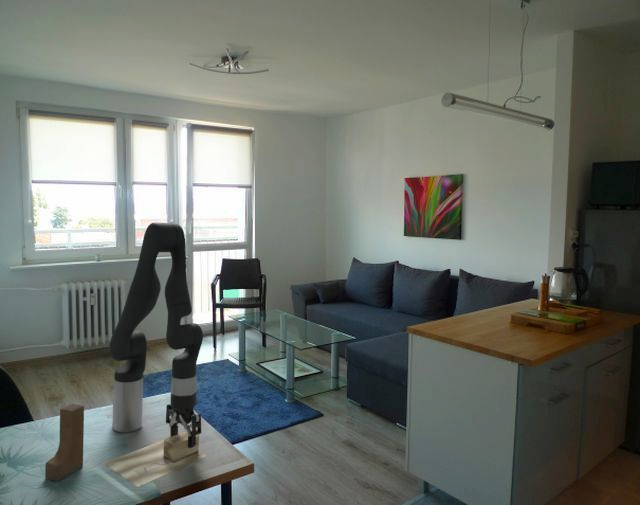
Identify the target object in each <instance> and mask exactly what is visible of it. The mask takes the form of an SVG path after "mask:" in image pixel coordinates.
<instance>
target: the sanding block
mask: <svg viewBox="0 0 640 505" xmlns="http://www.w3.org/2000/svg"><path fill="white" fill-rule="evenodd" d="M188 436H189V435H188V433H187V430H186V431H185V430H184V431H183V432H180V433H178V434H177V435H175V436H172V437H171V436H169V437H167V438H165V439H163V440H164V454H163V457H164V458H165V459H167V460H169V461H170V462H172V463H175V462H178V461H180V460H182V459H184V458H187V457H189V456H191V455H194V454H196V453H198V452H200V451H199V450H200V449H199V446H200V434H198V435H196V445H195V446H194V447H192V448H188Z"/></svg>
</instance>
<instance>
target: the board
mask: <svg viewBox="0 0 640 505" xmlns="http://www.w3.org/2000/svg"><path fill="white" fill-rule="evenodd" d="M163 454H164V439H163V440H160V441H157V442H154V443H152V444H149V445H147V446H145V447H142V448H139V449H137V450H134V451H132V452H131V451H130V452H129V453H126V454H124V455H121V456H119V457H116V458H113V459H111V460H110V459H109V460H107V461H105V462H103V465H105V466H107V467H108V468H109V469H111V470H112V471H114V472H115V473H117V474H118V475H119V476H121V477H123V479H125V480H126V481H128V482H129V483H131V484H132V485H133V486H135V487H137V488H139V487H141V486H143V485H144V486H145V484H148V483H149V482H152V481H154V480H157V479H159V478H161V477H163V476H165V475H167V474H170V473H173V472H174V471H177V470H179V469H181V468H184V467H185V466H188V465H190V464H192V463H194V462H196V461H199V460H201V459H203V458H206V457H207V456H208V455H206V454H205V453H203V452H201V451H199V452H198V453H196V454H194V455H191V456H189V457H187V458H184V459H182V460H180V461H178V462H175V463H172V462H170V461H169V460H167V459H165V458H164V457H163Z"/></svg>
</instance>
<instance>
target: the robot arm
mask: <svg viewBox="0 0 640 505" xmlns="http://www.w3.org/2000/svg"><path fill="white" fill-rule="evenodd" d="M184 231H185V230H184V229H183V227H182V226H181V225H180V224H178V223H172V222H171V223H170V222H169V223H168V222H159V221H158V222H156V221H155V222H151V223H150V224H149V225H147V228H146V229H145V232H144V235H143V240H142V244H141V248H140V254H139V257H138V261H137V262H138V263H137V266H136V269H135V272H134V275H133V279H132V280H131V283H130V287H129V290H128V293H127V296H126V299H125V300H126V301H125V304H124V306H123V310H122V311H121V315H120V317H119V320H118V322H117V324H116V327H115V329H114V331H113V333H112V335H111V338H110V341H109V345H108V347H109V349H108V351H109V356H110V358H111V359H112V360H114V361H116V362H123V361H124V363H123V364H122V365H121V366H119V367H117V369H115V371H114V374H113V377H114V380H113V399H112V427H113V428H112V430H113V431H115V430H116V431H115V432H117V431H118V432H117V433H131V432H135V431H137V430H140V429H141V428H142V426H143V407H144V406H143V402H144V400H143V398H144V397H143V396H144V393H143V392H144V373H145V370H146V364H147V362H146V361H147V349H148V343H147V338H146V335H145V333H144V332H143V331H142V330H136V328H137V327H138V326H139V325H140V324H141V323H142V322H143V321H144V320H145V318H146V317H148V316H149V315H150V314H151V312H152V311H153V310H154V309H155V307H156V305H157V302H158V299H159V297H160V293H161V288H162V287H161V282H160V278H159V276H158V273H157V270H156V262H157V257H158V255H159V253H169V254H170V257H171V269H170V271H169V274H168V278H167V280H166V283H165V287H164V298H165V304H166V308H167V309H166V310H167V324H166V334H165V339H166V340H165V341H166V343H167V345H168V346H169V348H170V349H172V350H175V351H176V350H177V351H178V350H183V349H184V350H183V352H182V353H180V354H178V355H176V356H175V357H173V358H172V361H171V381H170V403H168V404H166V410H165V423H166V424H168V427H169V428H170V437H172V436H175V435H177V434H179V424H181V426H183V429H184V431H185V430H186V431H187V433H188V435H189V436H188V448H192V447H194V446H195V445H196V435H200V434H202V414H201V413H195V410H194V408H195V406H197V395H198V394H197V392H198V391H197V389H198V386H197V385H198V380H197V361H198V358H199V355H200V354H199V353H200V351H201V347H202V344H203V340H204V333H203V329H202V327H201V326H200V325H199V324H198V323H185V324H181V320H182V319H183V318H185V317H188V316H190V315H191V314H192V312H193V309H192V302H191V297H190V293H189V292H190V291H189V287H188V279H187V250H186V249H187V248H186V246H187V245H186V234H185V232H184ZM190 423H191V424H190Z"/></svg>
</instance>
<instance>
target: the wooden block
mask: <svg viewBox="0 0 640 505" xmlns="http://www.w3.org/2000/svg"><path fill="white" fill-rule="evenodd" d="M84 423H85V406H84V405H80V404H76V403H70V404H68V405H66V406H63V407H61V408H60V409H59V443H58V444H59V445H58V448H57V451H56V452H55V454H54V456H53V457H52V458H50V459H49V460H47V461H46V462H45V469H44V470H45V474H44V475H45V479H47V480H51V481H54V482H59V481H61V480H62V479H65V477H67V476H69V475H70V474H72V473H74V472H76V471H77V470H79V469H81V468H82V467H83V466H84V439H85V438H84V437H85V436H84V435H85V434H84V433H85V430H84V429H85V428H84V427H85V424H84Z"/></svg>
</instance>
